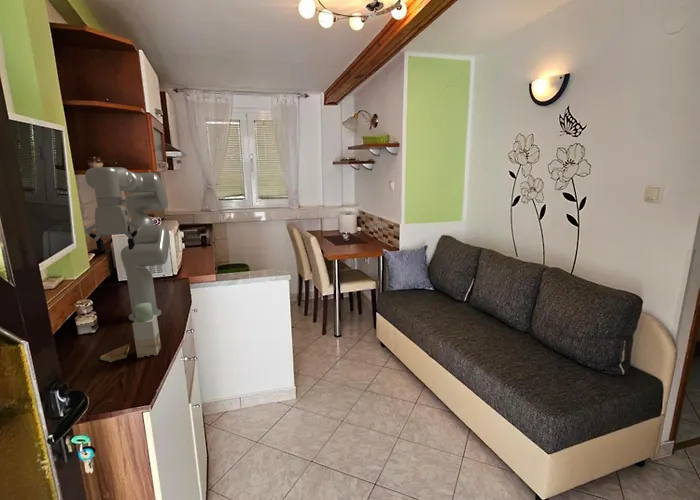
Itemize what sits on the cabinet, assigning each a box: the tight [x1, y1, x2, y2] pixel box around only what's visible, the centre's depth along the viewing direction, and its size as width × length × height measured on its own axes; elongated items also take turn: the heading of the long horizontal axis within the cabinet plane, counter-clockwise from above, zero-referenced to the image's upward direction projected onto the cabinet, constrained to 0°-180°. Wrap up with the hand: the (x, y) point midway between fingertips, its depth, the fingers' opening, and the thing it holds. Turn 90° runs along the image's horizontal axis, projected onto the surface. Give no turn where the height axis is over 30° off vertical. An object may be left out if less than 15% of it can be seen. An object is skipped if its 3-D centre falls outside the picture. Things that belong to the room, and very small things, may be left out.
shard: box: [99, 343, 130, 363], centre depth 129 cm, size 11×8×2 cm
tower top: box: [132, 315, 160, 342], centre depth 128 cm, size 6×6×6 cm
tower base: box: [134, 331, 162, 358], centre depth 129 cm, size 6×6×6 cm
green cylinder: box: [134, 303, 153, 322], centre depth 127 cm, size 5×5×5 cm
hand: (116, 250), depth 138 cm, fingers open, 9 cm apart
